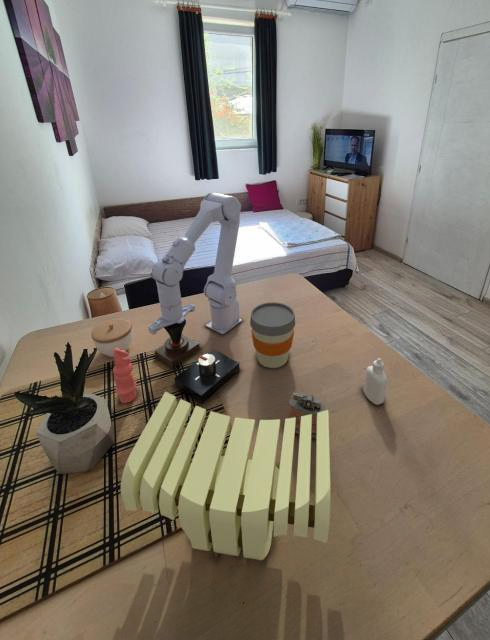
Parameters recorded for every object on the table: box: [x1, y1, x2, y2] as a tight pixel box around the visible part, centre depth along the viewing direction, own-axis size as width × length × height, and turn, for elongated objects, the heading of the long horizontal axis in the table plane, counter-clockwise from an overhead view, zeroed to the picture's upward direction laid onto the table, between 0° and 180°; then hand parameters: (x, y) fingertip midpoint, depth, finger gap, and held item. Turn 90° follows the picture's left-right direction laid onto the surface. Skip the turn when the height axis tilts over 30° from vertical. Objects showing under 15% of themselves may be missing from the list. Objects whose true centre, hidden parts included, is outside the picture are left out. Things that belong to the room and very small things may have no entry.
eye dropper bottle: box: [362, 357, 388, 406], centre depth 79 cm, size 4×6×12 cm
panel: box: [173, 348, 241, 406], centre depth 86 cm, size 14×10×3 cm
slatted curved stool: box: [120, 391, 331, 561], centre depth 55 cm, size 30×16×18 cm, turn 82°
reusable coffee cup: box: [249, 301, 296, 369], centre depth 92 cm, size 13×13×15 cm
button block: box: [154, 333, 200, 369], centre depth 96 cm, size 10×8×4 cm
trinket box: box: [90, 318, 134, 358], centre depth 96 cm, size 11×11×9 cm
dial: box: [197, 353, 216, 376], centre depth 85 cm, size 4×4×4 cm
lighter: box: [288, 392, 327, 439], centre depth 71 cm, size 8×3×10 cm, turn 71°
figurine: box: [112, 348, 138, 404], centre depth 79 cm, size 5×5×15 cm
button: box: [170, 339, 183, 347], centre depth 95 cm, size 4×4×2 cm
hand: (176, 341), depth 95 cm, fingers closed, pressing on button
